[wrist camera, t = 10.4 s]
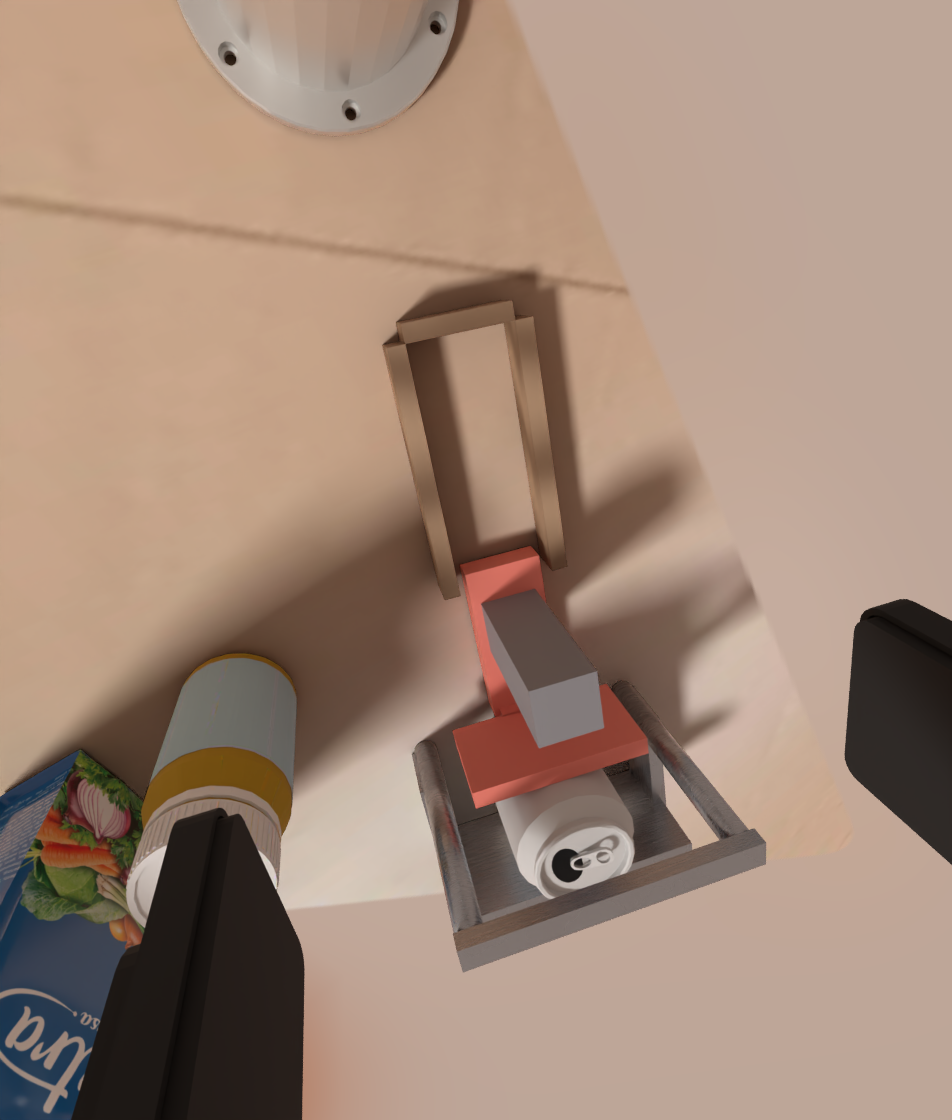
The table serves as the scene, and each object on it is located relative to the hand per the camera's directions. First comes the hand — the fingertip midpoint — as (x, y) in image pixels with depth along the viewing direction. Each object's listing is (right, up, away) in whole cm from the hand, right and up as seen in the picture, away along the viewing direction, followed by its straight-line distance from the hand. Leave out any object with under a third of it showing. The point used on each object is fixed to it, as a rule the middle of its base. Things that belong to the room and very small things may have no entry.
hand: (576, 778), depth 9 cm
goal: (+3, -13, +39) cm, 42 cm away
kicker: (+1, -2, +34) cm, 34 cm away
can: (+2, -10, +38) cm, 40 cm away
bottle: (-17, -5, +32) cm, 36 cm away
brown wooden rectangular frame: (-2, +10, +29) cm, 31 cm away
